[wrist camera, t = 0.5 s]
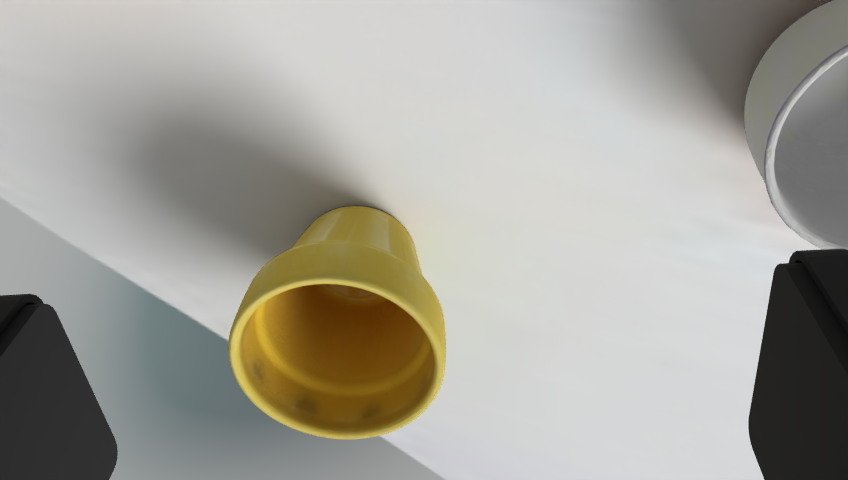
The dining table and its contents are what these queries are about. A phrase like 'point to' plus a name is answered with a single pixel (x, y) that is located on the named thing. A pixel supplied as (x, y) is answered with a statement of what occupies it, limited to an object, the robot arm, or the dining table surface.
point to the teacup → (805, 125)
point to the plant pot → (341, 330)
